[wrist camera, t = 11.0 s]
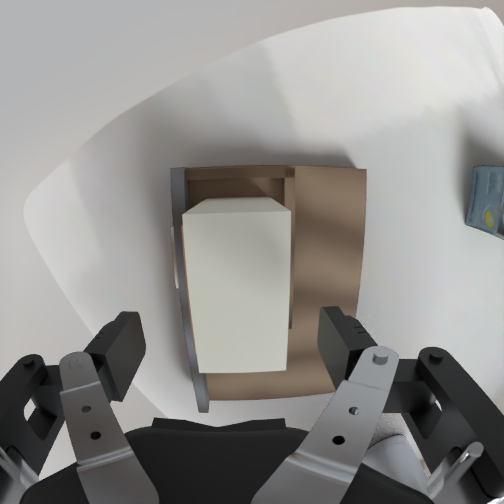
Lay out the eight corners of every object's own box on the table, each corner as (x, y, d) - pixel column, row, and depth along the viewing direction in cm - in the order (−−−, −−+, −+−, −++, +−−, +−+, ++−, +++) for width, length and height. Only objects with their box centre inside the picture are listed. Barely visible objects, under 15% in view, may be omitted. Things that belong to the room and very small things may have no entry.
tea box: (269, 196, 22) (291, 211, 13) (269, 299, 25) (286, 370, 15) (203, 198, 22) (175, 214, 13) (209, 301, 25) (194, 372, 15)
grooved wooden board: (336, 380, 30) (346, 402, 26) (199, 388, 30) (196, 412, 26) (357, 169, 24) (376, 169, 20) (178, 169, 23) (166, 168, 20)
